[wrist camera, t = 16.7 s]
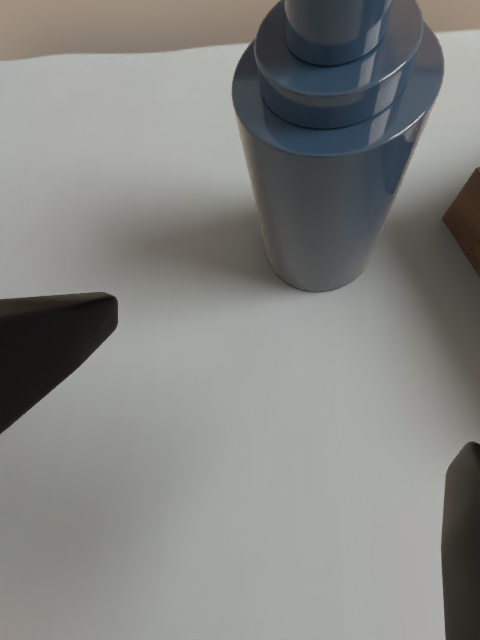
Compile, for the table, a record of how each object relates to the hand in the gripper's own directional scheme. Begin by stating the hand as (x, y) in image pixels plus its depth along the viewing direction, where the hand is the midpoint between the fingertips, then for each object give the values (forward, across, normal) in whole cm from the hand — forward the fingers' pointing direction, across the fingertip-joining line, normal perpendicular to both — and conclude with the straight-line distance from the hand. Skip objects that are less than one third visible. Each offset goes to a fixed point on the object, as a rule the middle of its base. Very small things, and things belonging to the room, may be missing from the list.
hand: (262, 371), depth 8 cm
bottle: (+12, +1, 0) cm, 12 cm away
